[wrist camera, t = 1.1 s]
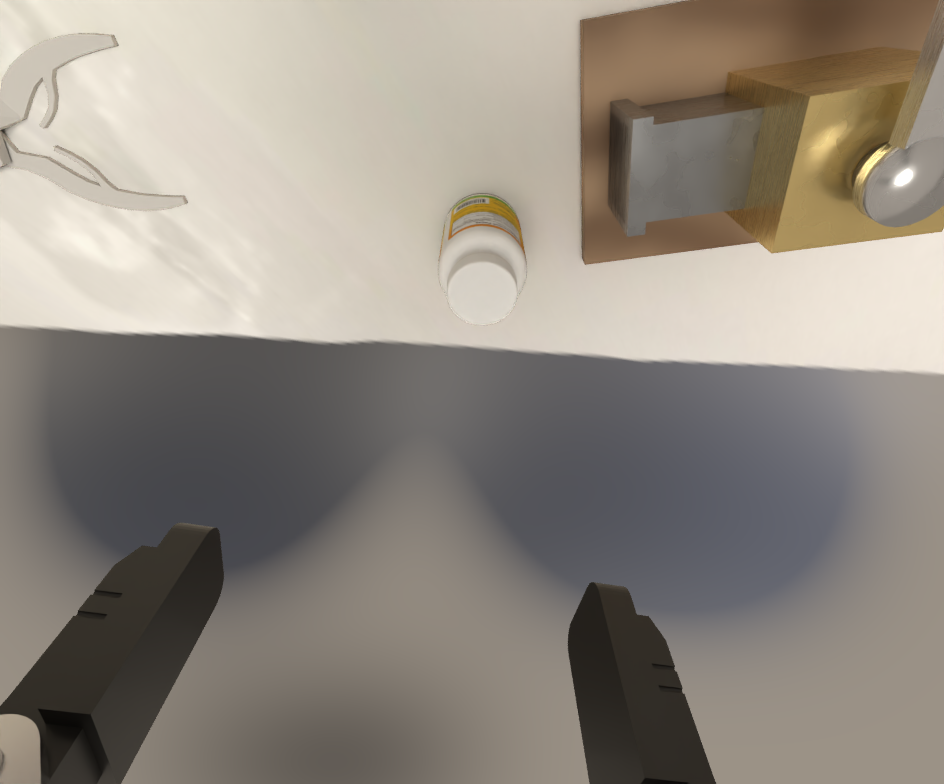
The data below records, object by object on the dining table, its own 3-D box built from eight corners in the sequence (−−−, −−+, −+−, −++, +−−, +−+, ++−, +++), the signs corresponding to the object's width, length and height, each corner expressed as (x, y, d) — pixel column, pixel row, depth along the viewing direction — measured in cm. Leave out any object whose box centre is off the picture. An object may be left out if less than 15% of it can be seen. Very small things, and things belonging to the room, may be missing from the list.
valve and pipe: (608, 90, 29) (657, 125, 21) (1005, 24, 26) (1227, 35, 18) (606, 210, 33) (645, 276, 25) (945, 162, 31) (1105, 218, 23)
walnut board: (580, 20, 27) (584, 20, 26) (1062, -68, 25) (1086, -71, 24) (582, 257, 36) (584, 264, 35) (938, 210, 33) (952, 216, 32)
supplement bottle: (493, 279, 37) (496, 351, 29) (430, 242, 35) (416, 309, 28) (535, 218, 34) (550, 281, 26) (469, 175, 32) (465, 229, 25)
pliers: (180, 212, 33) (-27, 229, 34) (191, 204, 34) (-9, 221, 35) (98, 31, 27) (-152, 58, 28) (115, 29, 28) (-125, 55, 29)
